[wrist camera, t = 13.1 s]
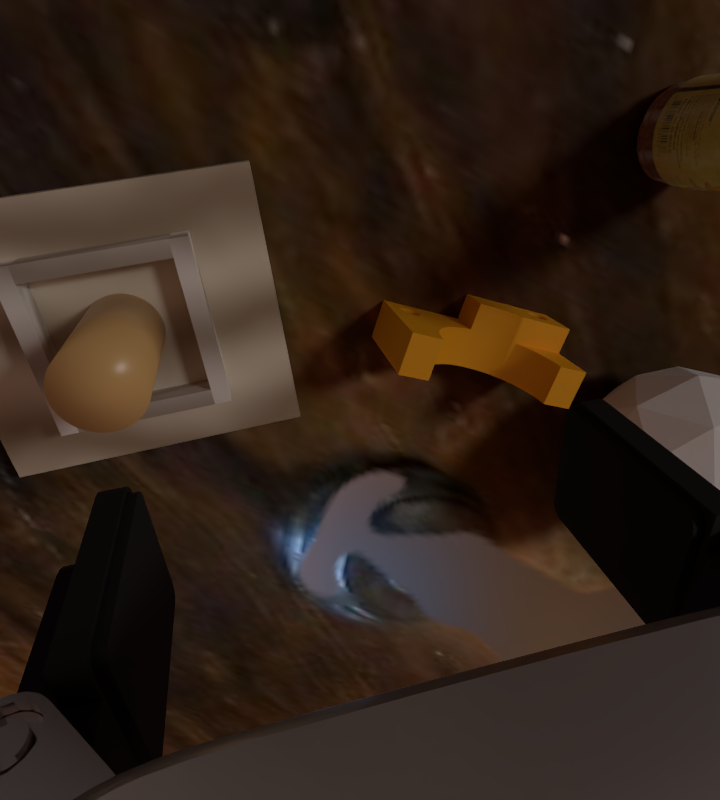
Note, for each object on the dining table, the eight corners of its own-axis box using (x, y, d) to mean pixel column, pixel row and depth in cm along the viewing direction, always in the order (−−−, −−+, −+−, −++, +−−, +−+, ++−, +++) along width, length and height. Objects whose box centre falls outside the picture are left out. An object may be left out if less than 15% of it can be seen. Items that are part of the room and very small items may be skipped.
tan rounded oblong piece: (69, 303, 31) (25, 357, 24) (151, 285, 31) (130, 333, 24) (101, 374, 33) (68, 443, 26) (176, 356, 33) (164, 419, 26)
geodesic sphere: (663, 287, 40) (861, 363, 28) (727, 403, 47) (910, 506, 35) (504, 422, 43) (622, 548, 30) (588, 515, 49) (712, 648, 37)
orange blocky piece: (544, 314, 39) (599, 346, 34) (520, 369, 41) (568, 409, 35) (391, 273, 35) (423, 302, 30) (371, 335, 37) (398, 374, 31)
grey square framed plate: (-105, 212, 28) (-134, 220, 26) (248, 159, 30) (250, 163, 28) (24, 468, 36) (11, 492, 33) (298, 409, 38) (303, 427, 36)
